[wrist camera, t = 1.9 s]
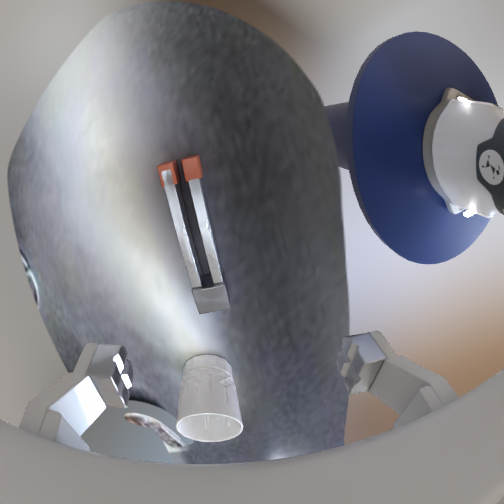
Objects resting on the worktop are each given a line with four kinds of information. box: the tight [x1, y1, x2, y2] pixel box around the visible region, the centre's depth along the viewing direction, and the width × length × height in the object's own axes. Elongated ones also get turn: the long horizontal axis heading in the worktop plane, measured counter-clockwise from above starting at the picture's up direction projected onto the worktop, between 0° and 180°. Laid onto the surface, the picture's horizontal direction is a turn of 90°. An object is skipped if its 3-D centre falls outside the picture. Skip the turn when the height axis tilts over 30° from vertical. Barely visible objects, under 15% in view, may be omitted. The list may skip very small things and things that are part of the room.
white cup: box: [176, 354, 243, 442], centre depth 31 cm, size 8×8×10 cm
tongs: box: [157, 155, 231, 314], centre depth 26 cm, size 16×4×3 cm, turn 9°
